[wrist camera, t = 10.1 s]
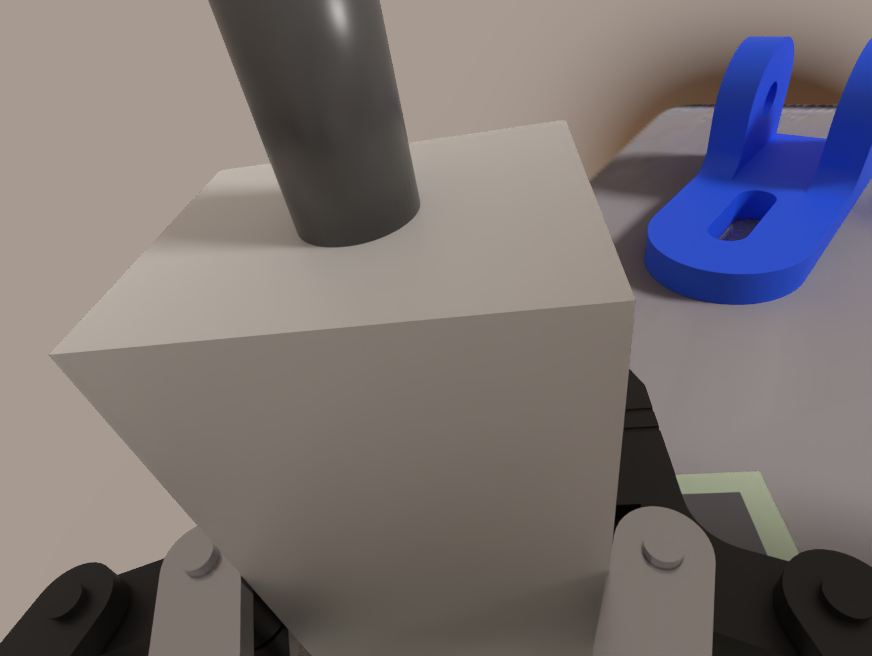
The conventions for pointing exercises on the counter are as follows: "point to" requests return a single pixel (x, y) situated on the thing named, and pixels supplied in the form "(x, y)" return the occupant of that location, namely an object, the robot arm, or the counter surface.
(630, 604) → the robot arm
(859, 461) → the counter surface
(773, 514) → the board
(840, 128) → the bracket
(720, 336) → the counter surface
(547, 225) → the plug
